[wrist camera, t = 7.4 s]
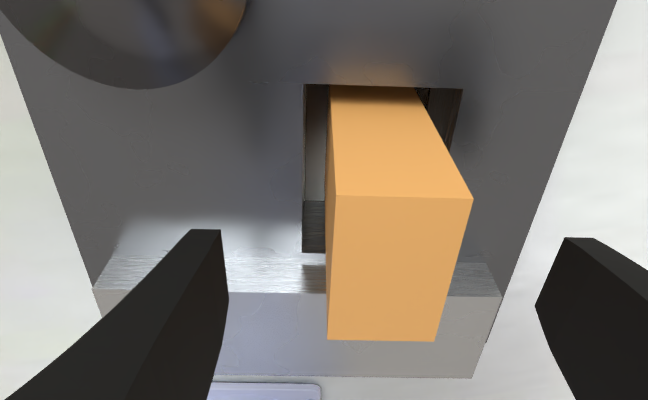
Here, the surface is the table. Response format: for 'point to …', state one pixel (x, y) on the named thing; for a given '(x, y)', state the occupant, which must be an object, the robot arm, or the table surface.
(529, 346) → the table surface
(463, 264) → the grey slotted base box
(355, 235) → the tall orange box
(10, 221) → the table surface
